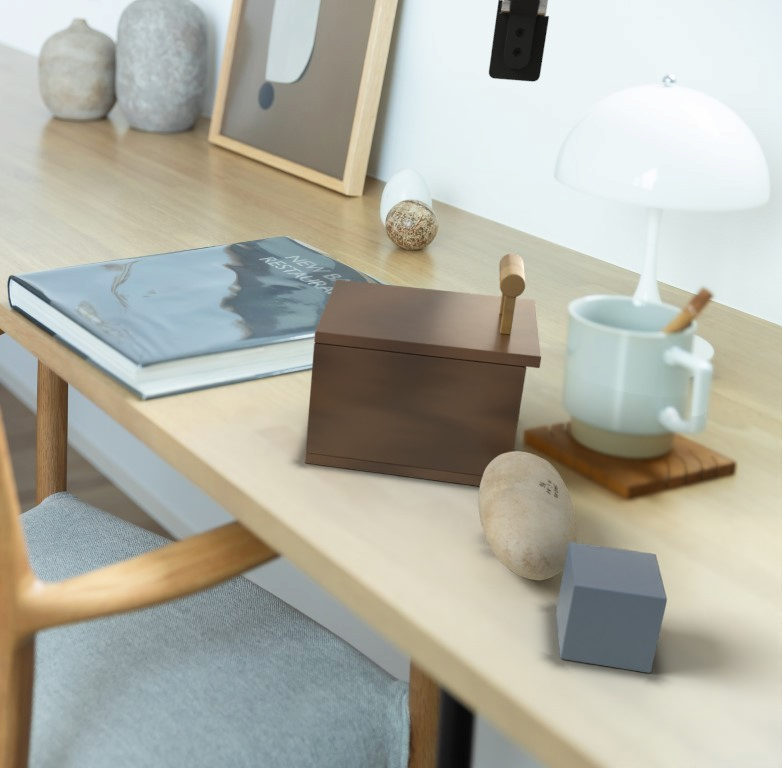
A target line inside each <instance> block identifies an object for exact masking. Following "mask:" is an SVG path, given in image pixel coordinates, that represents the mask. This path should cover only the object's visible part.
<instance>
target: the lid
mask: <svg viewBox="0 0 782 768" xmlns="http://www.w3.org/2000/svg"><path fill="white" fill-rule="evenodd" d="M498 268H499V269H498V270H499V289H500V292H501V296H498V295H489V294H481V293H470V292H461V291H450V290H441V289H433V288H423V287H414V286H413V287H411V286H404V285H403V286H402V285H394V284H393V285H392V284H384V283H375V282H364V281H354V280H345V279H336V280H335V281H334V285H333V287H332V290H331V292H330V294H329V297H328V299H327V302H326V304H325V306H324V309H323V311H322V314H321V316H320V319H319V321H318V324H317V326H316V329H315V331H314V338H313V339H314V341H313V342H314V343H324V344H332V345H341V346H350V347H359V348H367V349H376V350H385V351H394V352H402V353H411V354H420V355H429V356H437V357H446V358H455V359H464V360H472V361H481V362H490V363H499V364H507V365H516V366H525V367H526V368H534V369H539V368H541V367H540V366H541V362H542V352H541V351H542V350H541V343H540V332H539V323H538V313H537V305H536V300H535V299H530V298H529V299H528V298H521V297H519V296H521V295H522V294H523V293H524V292H525V289H526V276H525V266H524V260H523V258H522V257H521V256H520V255H518V254H516V253H507V254H505V255H503V256H502V258H501V259H500V261H499V265H498ZM518 297H519V298H518Z"/></svg>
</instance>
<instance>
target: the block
mask: <svg viewBox="0 0 782 768" xmlns="http://www.w3.org/2000/svg"><path fill="white" fill-rule="evenodd" d="M658 561H659V560H658V558H657V554H655V553H651V552H645V551H644V552H643V551H638V550H629V549H623V548H615V547H609V546H603V545H602V546H601V545H594V544H587V543H579V542H576V543H574V542H569V543H568V549H567V554H566V560H565V565H564V570H562V576H561V577H562V578H561V583H560V588H559V592H558V597H557V604H556V610H555V615H556V625H557V636H558V637H557V638H558V649H559V658H560V659H561V660H565V661H573V662H578V663H585V664H591V665H597V666H603V667H609V668H616V669H622V670H627V671H635V672H641V673H646V674H650V673H651V672H652V668H653V664H654V659H655V655H656V651H657V646H658V642H659V638H660V634H661V628H662V624H663V619H664V614H665V611H666V607H667V602H668V598H667V593H666V590H665V586H664V582H663V578H662V574H661V570H660V566H659V562H658Z"/></svg>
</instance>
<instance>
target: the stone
mask: <svg viewBox="0 0 782 768" xmlns="http://www.w3.org/2000/svg"><path fill="white" fill-rule="evenodd" d="M478 514H479V520H480V524H481V526H482V530H483V533H484V536H485V539H486V541H487V543H488V545H489V547H490V549H491V550H492V553H493V554H494V555H495V557H496V558H497V559H498V560H499V562H500V563H501V564H502V565H503V566H504V567H505V568H507V569H508V570H510V571H511V572H513V573H514V574H516V575H518V576H519V577H522V578H525V579H529V580H533V581H535V580H536V581H544V580H548V579H550V578H553V577H555V576H557V575H559V574H560V573H561V572H563V571H564V565H565V560H566V554H567V549H568V543H569V542H574V543H577V541H576V540H577V526H576V520H575V511H574V505H573V502H572V499H571V496H570V493H569V490H568V488H567V486H566V483H565V482H564V480H563V477H562V476H561V475H560V474H559V472H558V470H557V469H556V468H555V467H554V466H553V465H552V463H550V462H549V461H548V460H547V459H545V458H543V457H540V456H539V455H537V454H533V453H530V452H526V451H520V450H518V451H517V450H514V451H513V452H507V453H504V454H501V455H499V456H497V457H496V458H495V459H493V460H492V461H491V462H490V463H489V464H488V466H487V467H486V469H485V471H484V474H483V477H482V480H481V483H480V486H479V491H478Z"/></svg>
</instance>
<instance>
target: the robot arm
mask: <svg viewBox="0 0 782 768" xmlns="http://www.w3.org/2000/svg"><path fill="white" fill-rule="evenodd" d="M548 2H549V0H498V2H497V9H496V14H495V15H496V16H495V23H494V24H495V25H494V30H493V38H492V39H493V40H492V46H491V52H490V61H489V66H488V75H489V77H490V78H491V79H493V80H494V79H497V80H509V81H519V82H538V80H539V79H540V78H541V77H540V76H541V72H542V71H541V70H542V67H543V66H542V65H543V59H544V51H545V45H546V40H547V33H548V26H549V20H550V19H549V18H550V16H549V15H547V9H548Z"/></svg>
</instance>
